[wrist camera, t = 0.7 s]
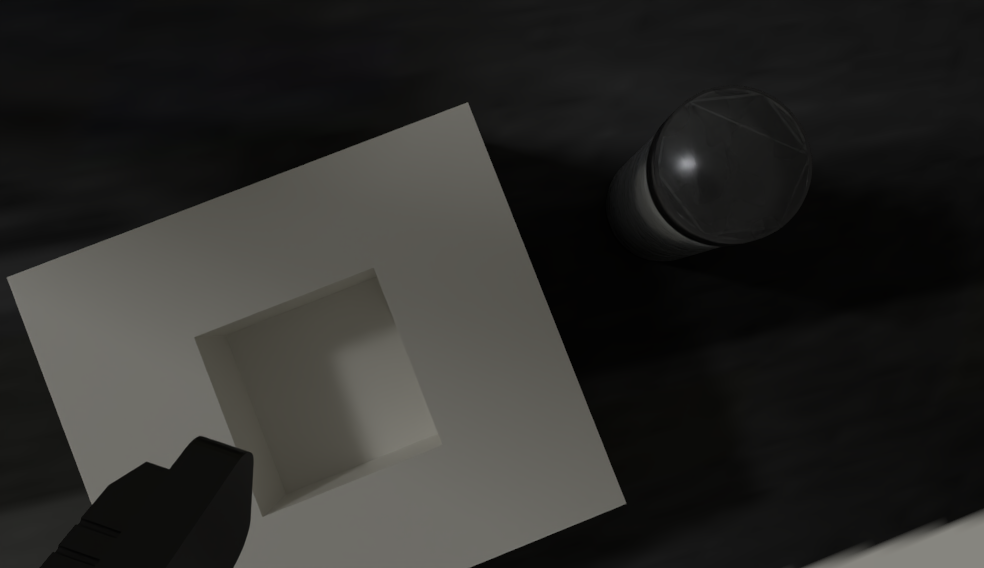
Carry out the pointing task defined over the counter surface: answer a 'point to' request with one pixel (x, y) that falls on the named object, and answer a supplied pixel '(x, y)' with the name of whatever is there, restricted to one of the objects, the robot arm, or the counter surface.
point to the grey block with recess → (335, 358)
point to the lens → (712, 176)
